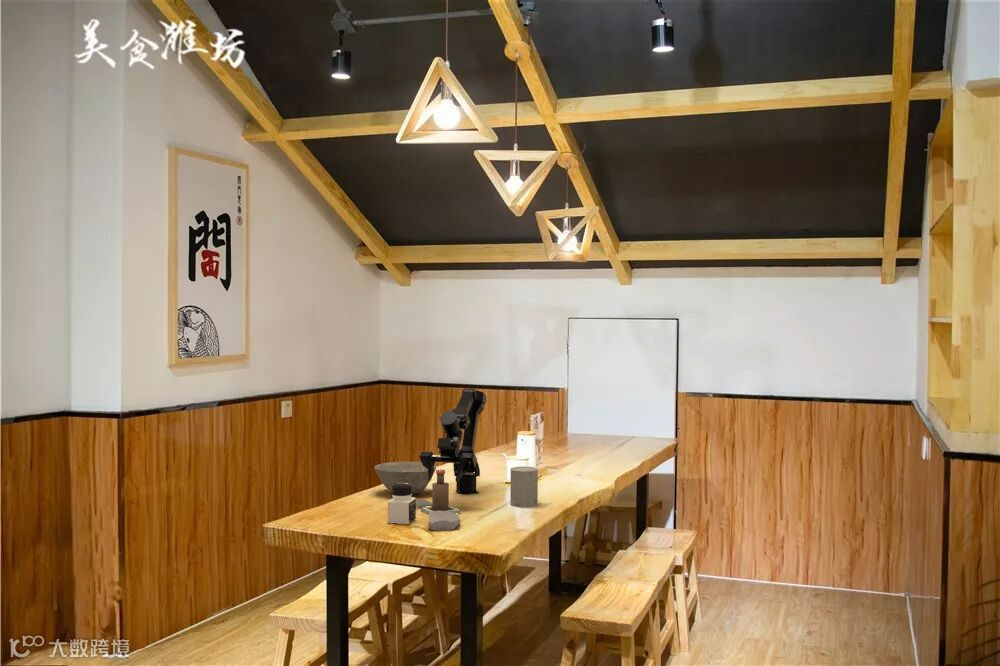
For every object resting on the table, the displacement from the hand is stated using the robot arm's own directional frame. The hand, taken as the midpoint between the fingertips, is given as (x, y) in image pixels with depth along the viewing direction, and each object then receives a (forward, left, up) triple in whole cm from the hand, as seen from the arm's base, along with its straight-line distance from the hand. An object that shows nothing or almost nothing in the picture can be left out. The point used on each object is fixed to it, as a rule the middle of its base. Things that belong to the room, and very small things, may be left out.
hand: (442, 480), depth 300 cm
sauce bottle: (+2, +2, -10) cm, 10 cm away
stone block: (+10, +20, -11) cm, 25 cm away
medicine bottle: (+19, +8, -10) cm, 22 cm away
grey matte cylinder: (-28, +6, -10) cm, 31 cm away
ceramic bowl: (-2, -32, -10) cm, 34 cm away
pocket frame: (+2, +2, -10) cm, 10 cm away
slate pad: (+3, -12, -10) cm, 16 cm away
